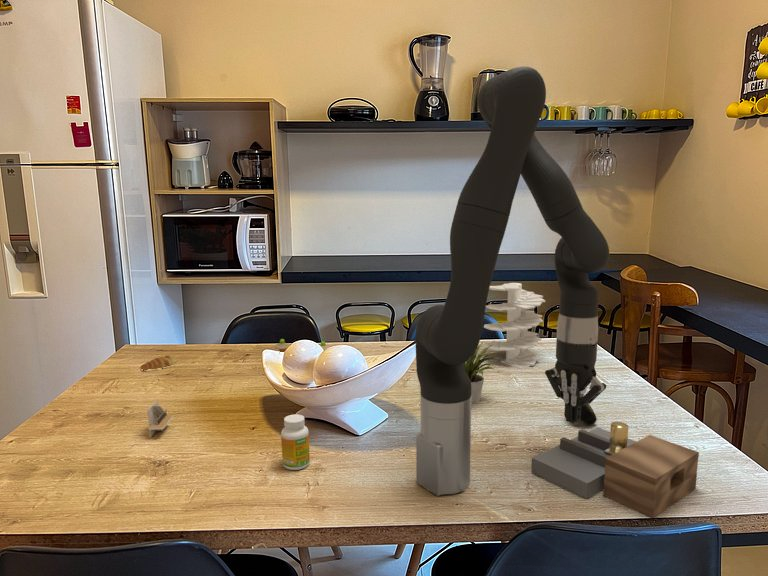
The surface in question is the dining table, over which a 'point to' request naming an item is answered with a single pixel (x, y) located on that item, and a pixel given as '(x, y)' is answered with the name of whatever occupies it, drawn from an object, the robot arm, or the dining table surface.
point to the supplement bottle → (295, 443)
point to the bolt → (618, 438)
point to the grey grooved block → (576, 462)
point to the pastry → (158, 363)
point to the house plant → (473, 370)
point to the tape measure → (588, 414)
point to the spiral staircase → (517, 325)
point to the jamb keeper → (650, 475)
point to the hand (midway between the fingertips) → (572, 421)
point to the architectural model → (157, 418)
